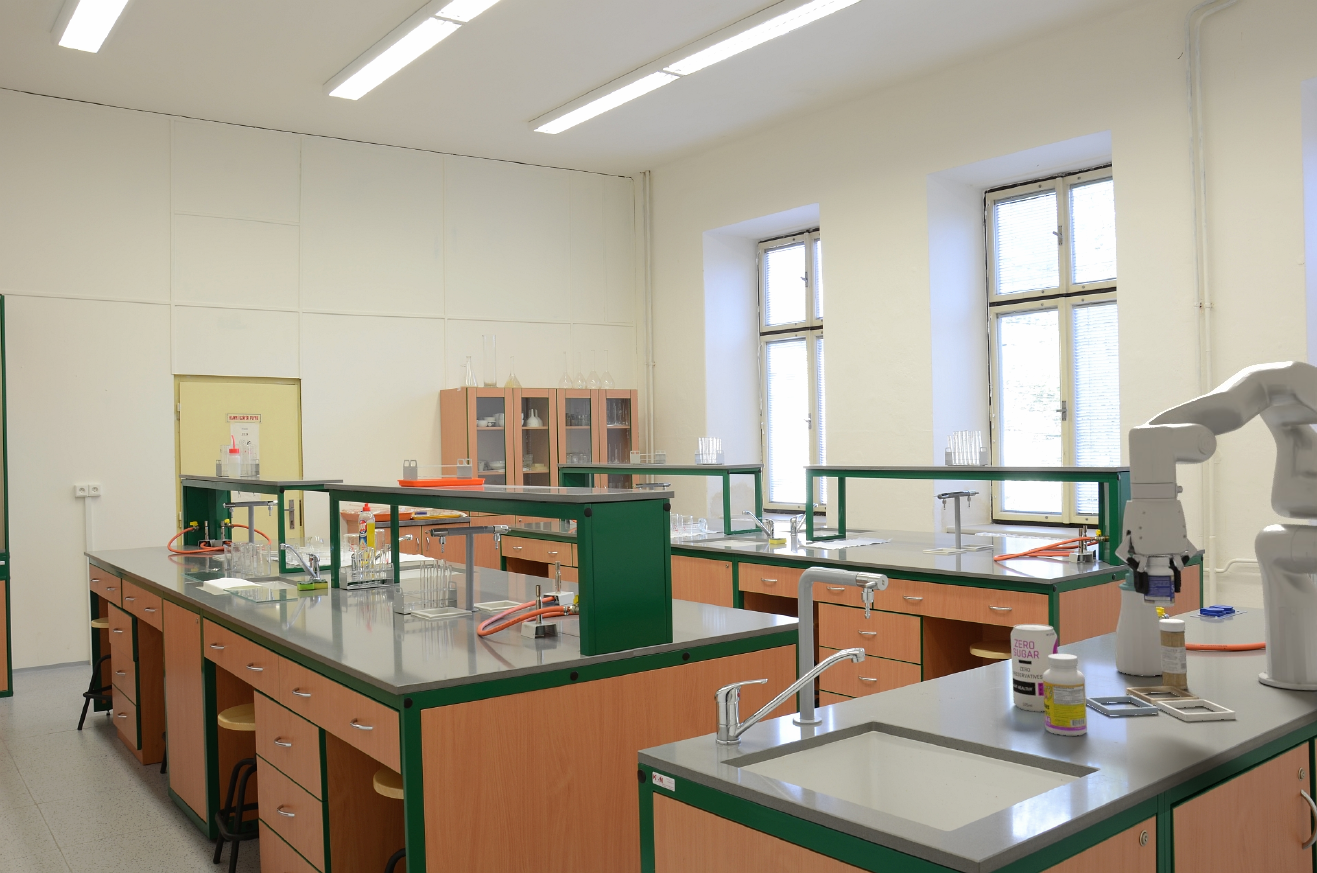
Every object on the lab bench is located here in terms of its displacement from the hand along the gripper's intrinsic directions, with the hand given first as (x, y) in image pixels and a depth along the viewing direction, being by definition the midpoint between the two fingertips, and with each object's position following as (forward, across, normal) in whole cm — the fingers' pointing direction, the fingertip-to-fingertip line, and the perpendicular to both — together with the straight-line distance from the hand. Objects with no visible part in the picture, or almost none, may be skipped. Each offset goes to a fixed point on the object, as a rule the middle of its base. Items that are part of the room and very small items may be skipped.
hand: (1157, 591), depth 174 cm
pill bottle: (+3, 0, 0) cm, 3 cm away
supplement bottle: (+22, +22, +8) cm, 33 cm away
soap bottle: (+22, -14, -30) cm, 39 cm away
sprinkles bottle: (+22, -12, -16) cm, 30 cm away
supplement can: (+22, +20, -8) cm, 31 cm away
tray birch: (+22, -5, -8) cm, 24 cm away
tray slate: (+22, +6, -3) cm, 23 cm away
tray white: (+22, -5, +2) cm, 22 cm away
